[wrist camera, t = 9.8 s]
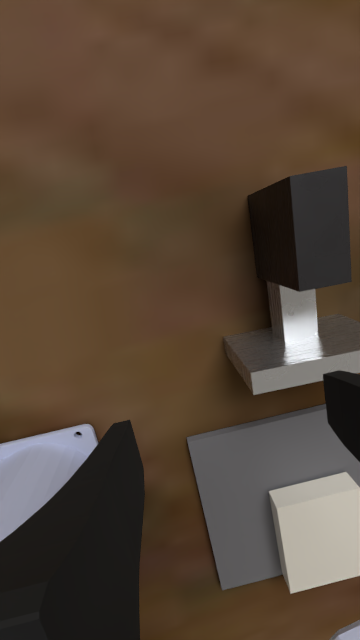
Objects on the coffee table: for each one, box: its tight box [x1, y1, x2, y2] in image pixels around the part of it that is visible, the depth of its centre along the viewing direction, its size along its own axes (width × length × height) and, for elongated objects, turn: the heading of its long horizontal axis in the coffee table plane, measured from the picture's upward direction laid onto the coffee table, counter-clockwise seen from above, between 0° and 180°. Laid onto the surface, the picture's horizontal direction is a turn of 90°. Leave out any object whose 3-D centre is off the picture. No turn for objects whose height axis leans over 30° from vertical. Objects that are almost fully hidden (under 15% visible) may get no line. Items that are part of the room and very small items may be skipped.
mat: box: [187, 404, 360, 590], centre depth 24 cm, size 16×14×1 cm
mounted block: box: [223, 166, 360, 395], centre depth 18 cm, size 8×10×6 cm
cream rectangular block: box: [269, 472, 360, 593], centre depth 24 cm, size 6×2×8 cm
